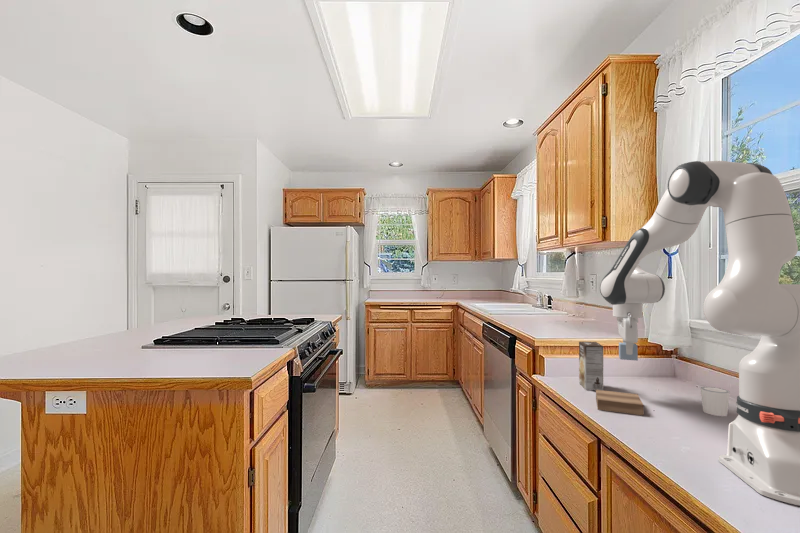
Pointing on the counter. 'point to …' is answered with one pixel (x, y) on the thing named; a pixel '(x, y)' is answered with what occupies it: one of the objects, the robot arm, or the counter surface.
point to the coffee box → (591, 365)
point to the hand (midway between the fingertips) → (628, 352)
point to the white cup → (715, 401)
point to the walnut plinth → (619, 402)
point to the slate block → (625, 356)
